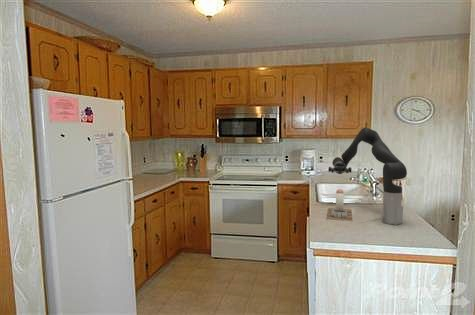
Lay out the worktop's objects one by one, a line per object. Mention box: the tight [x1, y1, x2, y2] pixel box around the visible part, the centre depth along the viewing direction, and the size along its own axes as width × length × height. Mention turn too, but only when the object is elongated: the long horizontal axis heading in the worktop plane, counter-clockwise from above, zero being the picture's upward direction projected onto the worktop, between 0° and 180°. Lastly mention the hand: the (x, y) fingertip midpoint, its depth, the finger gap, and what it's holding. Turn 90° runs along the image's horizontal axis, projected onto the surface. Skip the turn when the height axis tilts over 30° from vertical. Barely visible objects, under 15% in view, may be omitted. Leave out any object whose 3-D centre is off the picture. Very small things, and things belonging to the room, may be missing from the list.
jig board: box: [325, 207, 353, 222], centre depth 191 cm, size 26×14×1 cm, turn 162°
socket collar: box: [332, 208, 347, 218], centre depth 187 cm, size 8×8×3 cm
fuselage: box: [335, 188, 345, 210], centre depth 195 cm, size 4×4×14 cm
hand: (339, 171), depth 204 cm, fingers open, 8 cm apart
